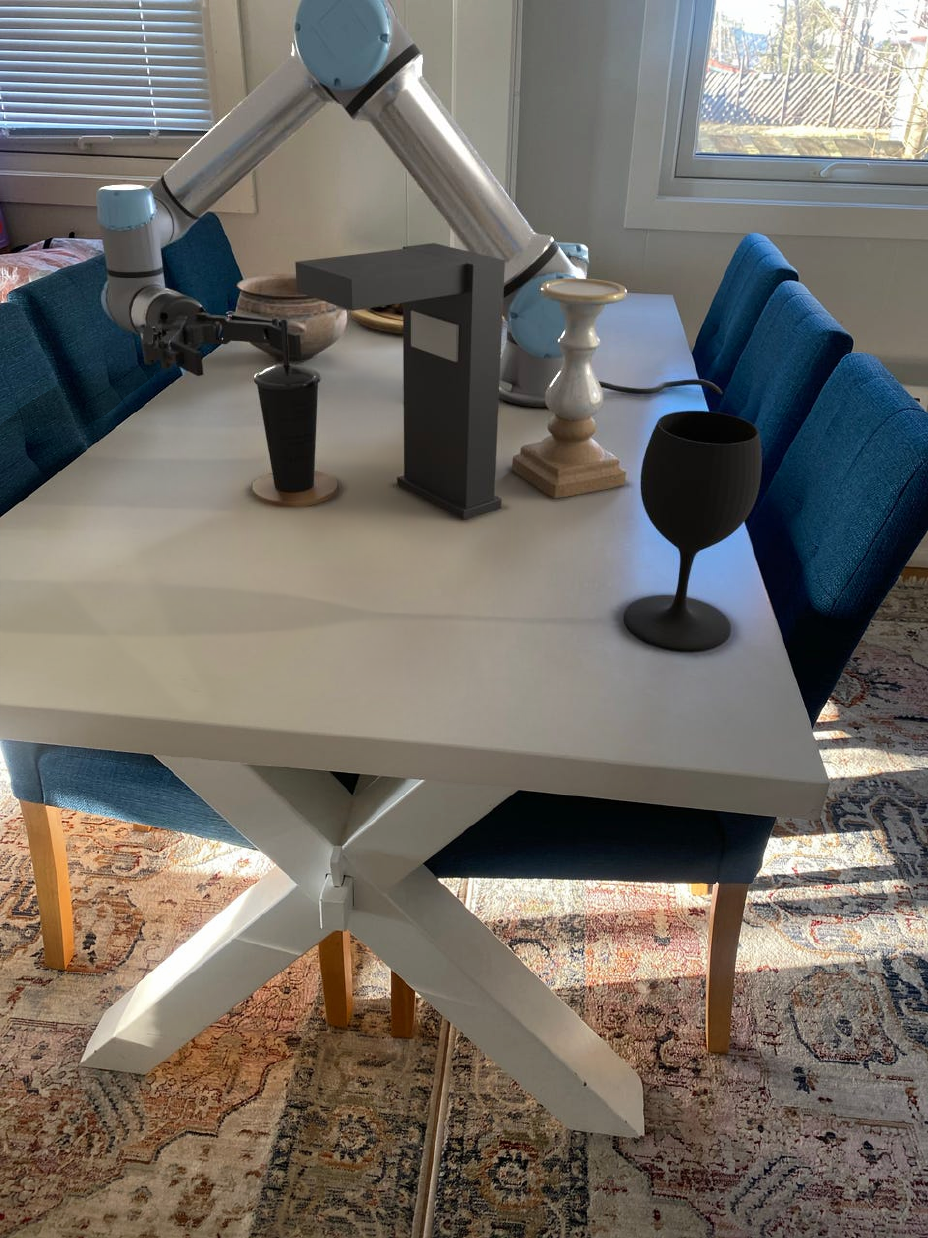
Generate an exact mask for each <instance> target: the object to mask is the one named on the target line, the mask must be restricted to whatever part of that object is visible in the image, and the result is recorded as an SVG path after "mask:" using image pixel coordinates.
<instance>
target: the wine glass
mask: <svg viewBox="0 0 928 1238" xmlns="http://www.w3.org/2000/svg"><path fill="white" fill-rule="evenodd" d="M647 443H648V444H647V446H646V449H645V452H644V456H643V459H642V463H641V464H642V465H641V469H640V496H641V501H642V506H643V508H644V511H645V513H646V515H647V517H648V519H649V520H650V523H651V524H652V525H653V526H654V527H655V529H656V530H657V532H658V533H659V534H660V535H661V536H662V537H664V538H665V540H667V542H669V543H670V544H671V545H673V546H674V547H676V548H677V550H678V552H679V568H678V570H679V571H678V580H677V586H676V591H675V595H674V594H656V595H649V596H645V597H642V598H639V599H637V600H634V601H632V602H631V603H630V604H629V605H628V606H627V607H626V608H625V610H624V612H623V624H624V627H625V628H626V629H627V631H628V633H630V634H631V635H632V636H634V638H636V639H638V640H639V641H641V642H643V643H644V644H648V645H649V646H652V647H655V648H658V649H662V650H665V651H671V652H678V653H701V652H706V651H710V650H713V649H716V648H718V647H720V646H722V645H723V644H725V643H726V642H727V641H728V640H729V638H730V636H731V632H732V626H731V622H730V620H729V619H728V617H727V616H726V615H725V613H723V611H721V610H720V609H718V608H716V607H715V606H713V605H711V604H709V603H707V602H705V601H703V600H699V599H697V598H693V597H688V588H689V581H690V576H691V572H692V567H693V563H694V561H695V558H696V556H697V554H698V553H699V552H700V551H703V550H705V549H708V548H710V547H713V546H716V545H717V544H718V543H720V542H722V541H724V540H726V539H727V538H729V537H730V536H732V534H734V533H735V532H736V531H737V530H738V529H739V528H740V527H741V526H742V525H743V524H744V522H745V521H746V520H747V518H748V517H749V515H750V513H751V512H752V510H753V508H754V505H755V504H756V501H757V499H758V495H759V490H760V485H761V478H762V466H763V460H762V459H763V458H762V457H763V456H762V455H763V454H762V443H761V436H760V430H759V428H758V427H757V426H756V425H755V424H753V423H752V422H750V421H748V420H747V419H744V418H742V417H739V416H735V415H733V414H732V415H731V414H727V413H723V412H717V411H709V410H708V411H707V410H682V411H675V412H671V413H666V414H664V415H662V416H661V417H659V418H658V420H657V422H656V424H655V426H654V428H653V430H652V433H651V435H650V437H649V441H648V442H647Z"/></svg>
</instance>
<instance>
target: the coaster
mask: <svg viewBox="0 0 928 1238" xmlns="http://www.w3.org/2000/svg"><path fill="white" fill-rule="evenodd" d="M338 485H339V484H338V481H337V480H336V478H334V477H333V476H332V475H330V474H328V473H327V472H326V473H325V472H322V471H318V470H315V471H314V486H313V487H312V488H311V489H309V490H306V491H302V492H283V491H280V490H278V489H276V488H275V485H274V480H273V474H272V472H270V473H267V474H265V475H263V476H261V477H259V478H257V479H256V480H255V481H254V482H253V484H252V488H251V489H252V494H253V496H254V497H255V498H256V499H257V500H258V501H260V502H263V503H265V504H268V505H272V506H278V507H289V508H291V507H292V508H293V507H305V506H312V505H316V504H320V503H323V502H325V501H328V500H329V499H331V498H333V497H334V496H335V495H336V494H337V492H338V490H339V489H338V488H339V486H338Z"/></svg>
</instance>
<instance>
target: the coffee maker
mask: <svg viewBox="0 0 928 1238" xmlns="http://www.w3.org/2000/svg"><path fill="white" fill-rule="evenodd" d="M294 265H295V274H296V283H297V292H299V293H302V294H304V295H307V296H310V297H313V298H316V299H319V300H322V301H325V302H328V303H331V304H334V305H336V308H337V309H339V310H346V311H347V312H348V311H349V312H350V310H351V311H355V310H361V309H367V308H374V307H380V306H386V305H392V304H399V303H403V334H402V347H403V348H402V349H403V350H402V357H403V359H402V363H403V365H402V366H403V367H402V369H403V376H402V377H403V379H402V381H403V382H402V383H403V474H402V475H398V476H397V477H396V486H397V487H399V488H401V489H403V490H405V491H407V492H409V493H410V494H412V495H414V496H416V497H418V498H420V499H423V500H424V501H426V502H428V503H430V504H431V505H434V506H435V507H437V508H440V509H442V510H443V511H445V512H447V513H449V514H451V515H453V516H455V517H456V518H458V519H460V520H463V521H465V520H468V519H471V518H474V517H477V516H480V515H483V514H486V513H489V512H491V511H492V512H493V511H495V510H498V509H501V508H502V498H500V497H499V496H497V495H496V494H495V493H496V492H495V489H496V470H497V469H496V468H497V445H498V427H499V425H498V424H499V404H500V403H499V402H500V398H499V383H500V361H501V356H502V335H503V324H502V316H503V294H504V272H505V260H502V259H498V258H494V257H489V256H485V255H481V254H477V253H473V252H469V251H467V250H466V249H465V250H464V249H460V248H456V247H451V246H447V245H444V244H439V243H435V242H431V243H423V244H414V245H407V246H406V245H405V246H402V248H397V249H390V250H382V251H374V252H365V253H357V254H349V255H340V256H332V257H325V258H324V257H323V258H316V259H307V260H299V261H295V262H294Z"/></svg>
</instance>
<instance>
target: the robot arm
mask: <svg viewBox="0 0 928 1238" xmlns="http://www.w3.org/2000/svg"><path fill="white" fill-rule="evenodd" d="M293 26H294V27H293V33H294V40H293V41H292V44H291V45H292V46H291V54H290V56H289V57H288V58H287V59H285V60H284V61H283V62H282V63H281V64H280V65H279V66H278V67H277V68H276V69H275V70H274V71H273V72H271V73H270V74H269V75H268V76H267V77H266V78H265V79H264V80H263V81H262V82H261V83H260V84H259V85H257V86H256V87H255V88H254V89H253V90H252V91H251V92H250V93H249V94H247V96H245V98H243V100H241V101H240V102H239V103H238V104H237V105H236V106H235V107H234V108H232V110H231V111H230V112H228V113H227V114H226V115H225V116H224V117H223V118H222V119H221V120H220V121H218V123H217V124H215V126H213V128H211V129H210V130H209V131H208V132H207V133H206V134H204V136H203V137H202V138H200V140H199V141H197V142H196V143H195V144H194V145H193V146H192V147H191V148H190V149H189V150H188V151H187V152H186V153H185V154H183V155H182V156H181V157H180V158H179V159H178V160H177V161H176V162H174V164H173V165H171V167H169V169H167V170H166V171H165V172H164V173H163V174H162V175H161V176H160V177H159V178H158V179H156V180H155V181H154V182H153V183H152V184H151V185H149V187H147V186H145V185H138V184H114V185H106V186H102V187H100V188H99V189H98V190H97V192H96V195H95V196H96V207H97V209H96V210H97V215H96V216H97V222H98V224H99V230H100V236H101V241H102V247H103V253H104V259H105V264H106V271H107V280H106V281H105V283H104V285H103V288H102V291H101V295H100V301H101V307H102V309H103V311H104V313H105V314H106V316H107V317H108V319H110V320H111V321H112V322H113V323H115V324H117V325H118V327H120V328H121V329H122V330H126V331H127V332H132V333H134V334H137V335H139V336H140V341H141V347H142V355H143V360H144V365H149V366H150V365H154V364H155V363H156V360H157V361H158V360H160V365H161V369H162V370H171V369H172V368H173V367H172V365H173V366H176V367H179V368H181V369H183V370H185V371H187V372H188V373H190V374H192V375H195V376H196V377H201V376H204V366H203V357H202V352H201V351H200V350H198V349H199V348H200V347H201V346H203V345H205V346H208V345H210V344H217V345H228V344H229V343H231V342H241V343H242V342H243V343H244V342H245V343H249V342H256V343H269V345H270V347H272V348H275V349H277V350H280V351H282V352H283V349H282V335H281V320H280V319H278V318H277V317H275V318H265V317H258V316H251V315H243V314H239V313H236V311H233V310H231V311H227V312H226V315H217V314H211V313H210V312H207V311H206V309H205V307H204V306H203V304H201V303H200V302H199V301H198V300H196V299H195V298H193V297H190V296H188V295H185V294H183V293H181V292H178V291H177V290H174V289H171V288H168V287H166V284H165V276H164V266H163V265H164V264H163V257H162V249H164V248H165V247H167V246H169V245H170V244H174V243H176V242H178V241H179V240H181V238H183V237H184V236H185V235H186V234H187V233H188V231H189V230H190V229H191V227H192V226H193V225H194V224H196V223H197V222H198V221H199V220H200V218H202V217H203V216H204V215H205V214H206V213H207V212H209V211H210V210H211V208H213V207H214V206H215V205H217V204H218V203H219V202H220V201H221V200H222V199H223V198H225V196H227V195H228V194H229V193H230V192H231V191H232V190H234V188H236V187H237V186H238V185H239V184H240V183H241V182H242V181H243V180H245V179H246V178H247V177H248V176H249V175H250V174H251V173H253V172H254V171H255V170H256V169H257V168H258V167H259V166H260V165H262V163H264V162H265V161H266V160H267V159H269V158H270V156H272V155H273V154H274V153H275V152H276V151H278V150H279V148H281V147H282V146H283V145H285V143H286V142H287V141H289V140H290V139H291V138H292V137H293V136H294V135H295V134H296V133H298V132H299V131H300V130H301V129H302V128H303V127H304V126H305V125H306V124H308V123H309V122H310V121H312V119H313V118H315V116H317V115H318V114H319V113H320V112H322V111H323V110H324V109H325V108H326V107H327V106H328V105H333V106H339V107H340V105H341V106H342V108H343V109H344V110H345V112H346V113H347V114H348V115H349V117H350V118H351V120H353V121H354V122H355V121H357V122H363V123H368V124H370V125H371V126H372V127H373V129H374V130H375V131H376V132H377V133H378V135H379V136H380V138H381V139H382V140H383V142H384V143H385V144H386V145H387V148H389V149H390V151H391V153H392V154H393V156H395V157H396V159H397V160H398V161H399V163H400V164H401V165H402V166H403V168H404V169H405V171H406V172H407V174H409V176H410V177H411V178H412V180H413V181H414V183H415V184H416V185H417V187H418V188H419V189H420V190H421V192H422V193H423V194H424V196H425V197H426V199H427V200H428V201H429V202H430V203H431V205H432V206H433V207H434V209H435V210H436V211H437V213H438V214H439V216H440V217H441V218H442V219H443V221H444V223H446V225H447V226H448V227H449V229H450V230H451V231H452V233H453V234H454V235H455V236H456V238H457V240H458V241H459V242H460V243H461V244H462V246H463V247H464V248H465V251H469V252H473V253H477V254H481V255H485V256H489V257H494V258H498V259H502V260H505V272H504V294H503V317H504V318H505V320H506V321H505V322H506V341H505V346H504V349H503V351H502V353H501V361H500V383H499V400H502V401H504V402H507V403H511V404H514V405H517V406H524V407H531V408H532V407H533V408H548V407H547V405H546V402H545V393H546V390H547V387H548V385H549V384H550V382H551V381H552V379H553V378H554V377H555V375H556V374H557V372H558V371H559V369H560V368H561V366H562V364H563V361H564V355H563V352H562V350H561V346H560V345H559V344H558V342H557V340H558V338H559V337H560V336H561V334H562V333H563V331H564V329H565V326H566V319H565V315H564V313H563V312H562V310H561V308H560V304H559V302H557V301H553V300H550V299H547V298H545V297H543V296H542V294H541V293H540V286H541V285H542V284H543V283H544V282H546V281H550V280H555V279H565V278H584V279H587V275H588V274H587V273H588V267H589V265H590V260H589V249H588V247H587V246H586V245H585V244H583V243H576V242H562V241H561V242H560V241H558V242H557V241H556V240H555V239H554V237H553V236H552V235H549V234H542V233H541V234H540V233H537V232H535V231H534V229H533V228H532V226H531V225H530V223H529V222H528V221H527V220H526V218H525V217H524V215H523V214H522V213H521V211H520V210H519V209H518V207H517V206H516V204H515V203H514V201H513V200H512V199H511V197H510V196H509V195H508V193H507V192H506V191H505V189H504V187H503V185H501V183H500V182H499V181H498V179H497V178H496V177H495V175H494V174H493V172H492V171H491V170H490V168H489V167H488V164H486V163H485V161H484V160H483V159H482V157H481V156H480V154H479V153H478V152H477V150H476V149H475V148H474V146H473V144H472V143H471V142H470V140H469V138H468V137H467V136H466V134H465V133H464V132H463V130H462V129H461V127H460V126H459V125H458V124H457V122H456V121H455V119H454V118H453V116H452V115H451V114H450V113H449V111H448V109H447V108H446V107H445V105H444V104H443V103H442V102H441V100H440V99H439V97H438V95H437V94H436V93H435V92H434V90H433V89H432V88H431V86H430V85H429V83H428V82H427V81H426V79H425V78H424V76H423V58H424V57H423V54H422V52H421V51H420V49H419V48H418V46H417V45H416V44H415V42H414V41H413V39H412V38H411V37H410V35H409V34H408V32H407V31H406V29H405V28H404V26H403V25H402V24H401V23H400V21H399V17H398V14H397V11H396V9H395V7H394V5H393V3H392V1H390V0H300V2H299V5H298V7H297V9H296V13H295V17H294V25H293ZM221 334H222V337H219V336H220V335H221ZM287 335H288V350H289V355H292V356H294V357H301V342H300V335H299V334H296V333H294V332H291V331H289V330H288V321H287ZM598 381H599V383H600V385H601V388H602V389H608V390H610V391H614V392H619V393H625V394H633V395H653V394H657V393H659V392H660V391H661V390H663V389H666V388H676V387H682V386H683V387H684V386H702V387H706V388H708V389H710V390H712V391H713V392H714V393H715V394H717V395H723V391H722V390H721V388H719V386H718V385H716V384H715V383H713V382H711V381H709V380H705V379H699V378H697V379H695V378H693V379H691V378H690V379H682V380H673V381H671V380H670V381H664V382H661V383H659V384H658V385H656V386H654V387H650V388H649V387H648V388H639V387H638V388H636V387H628V386H622V385H616V384H613V383H609V382H605V381H601V380H598Z"/></svg>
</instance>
